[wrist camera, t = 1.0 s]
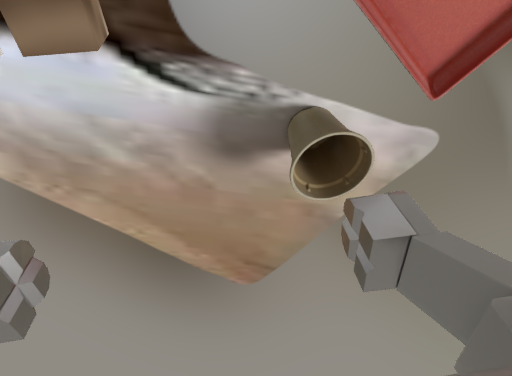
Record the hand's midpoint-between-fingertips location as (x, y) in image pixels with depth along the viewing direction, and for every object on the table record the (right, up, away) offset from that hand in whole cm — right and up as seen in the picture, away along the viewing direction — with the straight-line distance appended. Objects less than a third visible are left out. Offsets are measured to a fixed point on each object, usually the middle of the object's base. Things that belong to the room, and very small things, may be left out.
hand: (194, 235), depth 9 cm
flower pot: (+9, +9, +33) cm, 35 cm away
